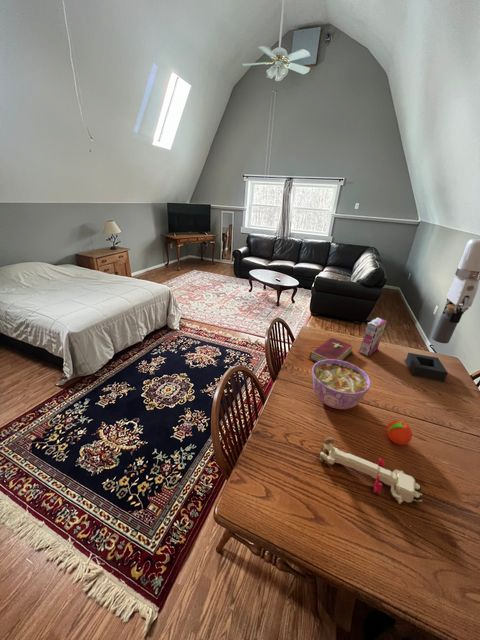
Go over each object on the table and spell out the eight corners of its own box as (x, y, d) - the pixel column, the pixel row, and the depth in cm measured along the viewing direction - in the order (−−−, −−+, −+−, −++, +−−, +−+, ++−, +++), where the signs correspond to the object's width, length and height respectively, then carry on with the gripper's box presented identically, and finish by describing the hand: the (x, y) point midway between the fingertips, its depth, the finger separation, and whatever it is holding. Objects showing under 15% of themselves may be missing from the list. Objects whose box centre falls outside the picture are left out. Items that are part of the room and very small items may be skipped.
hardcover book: (309, 358, 125) (310, 351, 123) (329, 343, 139) (330, 336, 137) (333, 369, 118) (335, 361, 116) (352, 352, 132) (354, 344, 130)
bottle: (451, 344, 107) (467, 310, 100) (435, 342, 108) (450, 309, 101) (444, 336, 112) (458, 304, 105) (429, 335, 113) (442, 302, 106)
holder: (434, 365, 124) (437, 357, 122) (444, 381, 113) (448, 372, 112) (405, 360, 127) (408, 352, 125) (412, 375, 116) (415, 366, 115)
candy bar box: (368, 357, 128) (377, 326, 121) (358, 352, 132) (366, 322, 125) (378, 349, 135) (387, 320, 128) (368, 345, 139) (376, 316, 132)
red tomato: (390, 451, 81) (397, 434, 78) (376, 433, 87) (381, 416, 84) (413, 448, 82) (421, 431, 79) (397, 430, 88) (403, 414, 85)
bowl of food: (322, 423, 89) (329, 397, 85) (298, 385, 107) (302, 361, 102) (374, 416, 94) (384, 390, 89) (343, 380, 111) (349, 357, 106)
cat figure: (316, 470, 75) (421, 519, 63) (318, 448, 72) (430, 494, 60) (325, 445, 83) (421, 484, 71) (328, 424, 80) (429, 460, 67)
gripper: (493, 282, 89) (471, 330, 97) (469, 269, 104) (451, 312, 112) (467, 279, 91) (447, 326, 99) (447, 267, 106) (431, 309, 114)
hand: (450, 318), depth 105 cm, fingers closed on bottle, 5 cm apart
